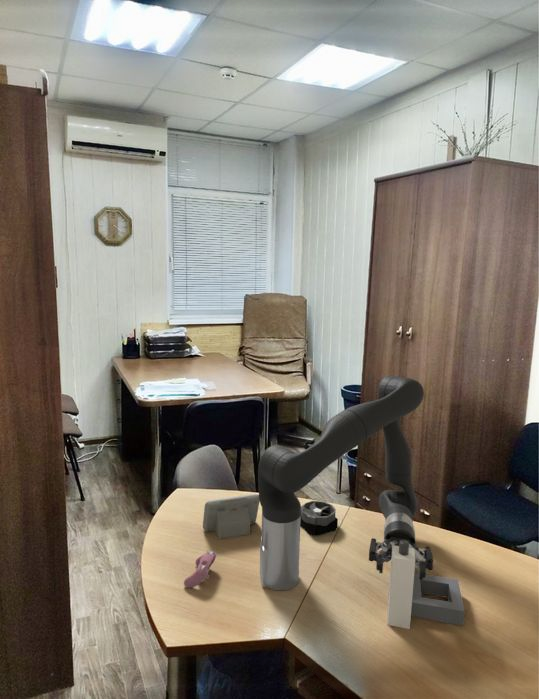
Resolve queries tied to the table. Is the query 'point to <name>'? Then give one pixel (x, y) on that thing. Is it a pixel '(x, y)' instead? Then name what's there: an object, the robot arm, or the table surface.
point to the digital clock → (231, 515)
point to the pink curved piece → (201, 569)
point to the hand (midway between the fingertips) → (401, 572)
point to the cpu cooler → (318, 518)
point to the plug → (401, 585)
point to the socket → (435, 608)
